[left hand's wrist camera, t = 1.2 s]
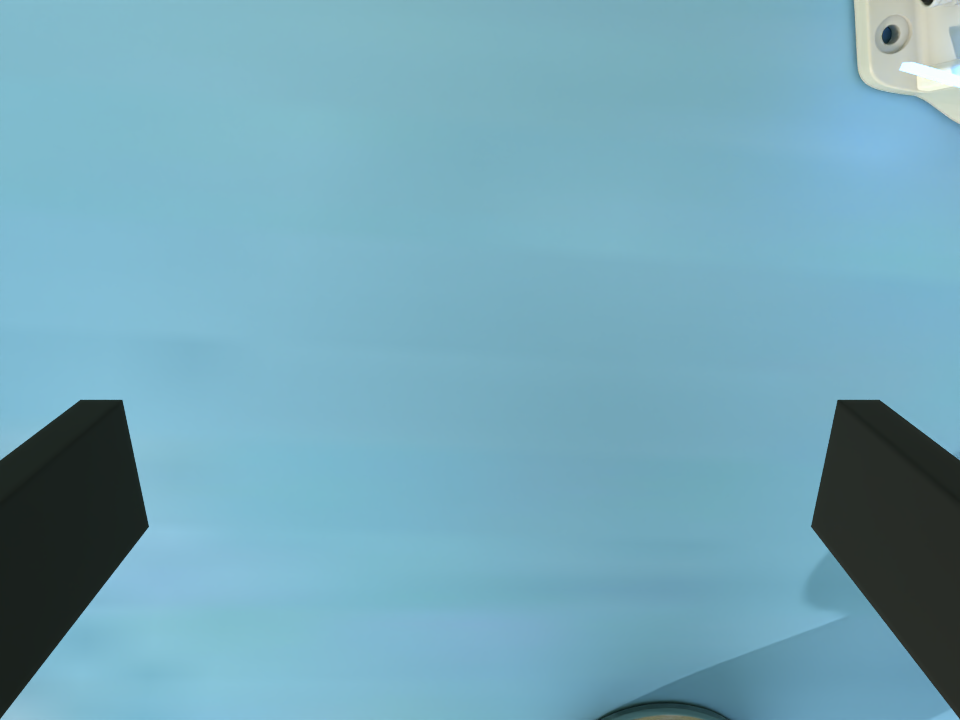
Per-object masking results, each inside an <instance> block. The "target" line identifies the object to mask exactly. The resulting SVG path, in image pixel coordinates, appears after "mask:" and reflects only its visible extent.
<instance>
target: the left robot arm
mask: <svg viewBox="0 0 960 720" xmlns="http://www.w3.org/2000/svg"><path fill="white" fill-rule="evenodd" d="M148 527H149V525H148V520H147V515H146V511H145V506H144V501H143V496H142V492H141V487H140V482H139V477H138V472H137V468H136V463H135V458H134V453H133V449H132V444H131V439H130V434H129V429H128V425H127V420H126V415H125V410H124V406H123V401H122V400H80V401H79V402H77V403H76V404H75V405H73V406H72V407H71V408H69V409H68V410H67V411H65V412H64V413H63V414H61V415H60V416H59V417H57V418H56V419H55V420H53V421H52V422H51V423H49V424H48V425H47V426H45V427H44V428H43V429H41V430H40V431H39V432H37V433H36V434H35V435H33V436H32V437H31V438H29V439H28V440H27V441H25V442H24V443H23V444H22V445H20V446H19V447H18V448H16V449H15V450H14V451H12V452H11V453H10V454H8V455H7V456H6V457H4V458H3V459H2V460H0V719H1V717H2V716H3V715H4V713H5V712H6V711H7V709H8V708H9V707H10V706H11V704H12V703H13V702H14V700H15V699H16V698H17V697H18V695H19V694H20V693H21V691H22V690H23V689H24V688H25V686H26V685H27V684H28V682H29V681H30V680H31V678H32V677H33V676H34V675H35V673H36V672H37V671H38V669H39V668H40V667H41V666H42V664H43V663H44V662H45V660H46V659H47V658H48V656H49V655H50V654H51V653H52V651H53V650H54V649H55V647H56V646H57V645H58V644H59V642H60V641H61V640H62V638H63V637H64V636H65V635H66V633H67V632H68V631H69V629H70V628H71V627H72V625H73V624H74V623H75V622H76V620H77V619H78V618H79V616H80V615H81V614H82V613H83V611H84V610H85V609H86V607H87V606H88V605H89V603H90V602H91V601H92V600H93V598H94V597H95V596H96V594H97V593H98V592H99V591H100V589H101V588H102V587H103V585H104V584H105V583H106V581H107V580H108V579H109V578H110V576H111V575H112V574H113V572H114V571H115V570H116V569H117V567H118V566H119V565H120V563H121V562H122V561H123V560H124V558H125V557H126V556H127V554H128V553H129V552H130V550H131V549H132V548H133V547H134V545H135V544H136V543H137V541H138V540H139V539H140V538H141V536H142V535H143V534H144V532H145V531H146V530H147V528H148ZM811 527H812V528H813V530H814V531H815V532H816V534H817V535H818V536H819V538H820V539H821V540H822V541H823V543H824V544H825V545H826V547H827V548H828V549H829V550H830V552H831V553H832V554H833V556H834V557H835V558H836V560H837V561H838V562H839V563H840V565H841V566H842V567H843V569H844V570H845V571H846V572H847V574H848V575H849V576H850V578H851V579H852V580H853V581H854V583H855V584H856V585H857V587H858V588H859V589H860V591H861V592H862V593H863V594H864V596H865V597H866V598H867V600H868V601H869V602H870V603H871V605H872V606H873V607H874V609H875V610H876V611H877V613H878V614H879V615H880V616H881V618H882V619H883V620H884V622H885V623H886V624H887V625H888V627H889V628H890V629H891V631H892V632H893V633H894V635H895V636H896V637H897V638H898V640H899V641H900V642H901V644H902V645H903V646H904V647H905V649H906V650H907V651H908V653H909V654H910V655H911V656H912V658H913V659H914V660H915V662H916V663H917V664H918V666H919V667H920V668H921V669H922V671H923V672H924V673H925V675H926V676H927V677H928V678H929V680H930V681H931V682H932V684H933V685H934V686H935V688H936V689H937V690H938V691H939V693H940V694H941V695H942V697H943V698H944V699H945V700H946V702H947V703H948V704H949V706H950V707H951V708H952V709H953V711H954V712H955V713H956V715H957V716H958V717H959V719H960V460H958V459H957V458H956V457H954V456H953V455H952V454H950V453H949V452H948V451H946V450H945V449H944V448H942V447H941V446H940V445H938V444H937V443H936V442H935V441H933V440H932V439H931V438H929V437H928V436H927V435H925V434H924V433H923V432H921V431H920V430H919V429H917V428H916V427H915V426H913V425H912V424H911V423H909V422H908V421H907V420H905V419H904V418H903V417H901V416H900V415H899V414H897V413H896V412H895V411H893V410H892V409H891V408H889V407H888V406H887V405H885V404H884V403H883V402H881V401H880V400H838V401H837V406H836V410H835V415H834V420H833V425H832V429H831V434H830V439H829V444H828V449H827V453H826V458H825V463H824V468H823V472H822V477H821V482H820V487H819V492H818V496H817V501H816V506H815V511H814V515H813V520H812V525H811ZM601 720H728V719H726V718H725V717H723V716H721V715H719V714H717V713H715V712H712V711H710V710H707V709H704V708H700V707H696V706H691V705H685V704H675V703H659V704H648V705H641V706H636V707H632V708H628V709H625V710H621V711H619V712H616V713H613V714H611V715H609V716H607V717H604V718H602V719H601Z"/></svg>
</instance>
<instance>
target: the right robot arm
mask: <svg viewBox="0 0 960 720" xmlns="http://www.w3.org/2000/svg"><path fill="white" fill-rule="evenodd" d="M854 10H855V30H856V49H857V66H858V72H859V75H860V77H861V79H862V80H863V81H864V83H866V84H867V85H868V86H870V87H872V88H875V89H878V90H882V91H886V92H891V93H898V94H905V95H913V96H917V97H919V98H921V99H923V100H925V101H926V102H928V103H929V104H931V105H932V106H934V107H935V108H936V109H938V110H939V111H940V112H942V113H943V114H944V115H946V116H947V117H948V118H950V119H952V120H953V121H955V122H957V123H959V124H960V0H854ZM887 26H888V27H889V28H890V29H891V31H892V36H891V39H890V41H889V42H888V43H887V44H885V43H884V42H883V40H882V33H883V31H884V29H885V28H886V27H887Z"/></svg>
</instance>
